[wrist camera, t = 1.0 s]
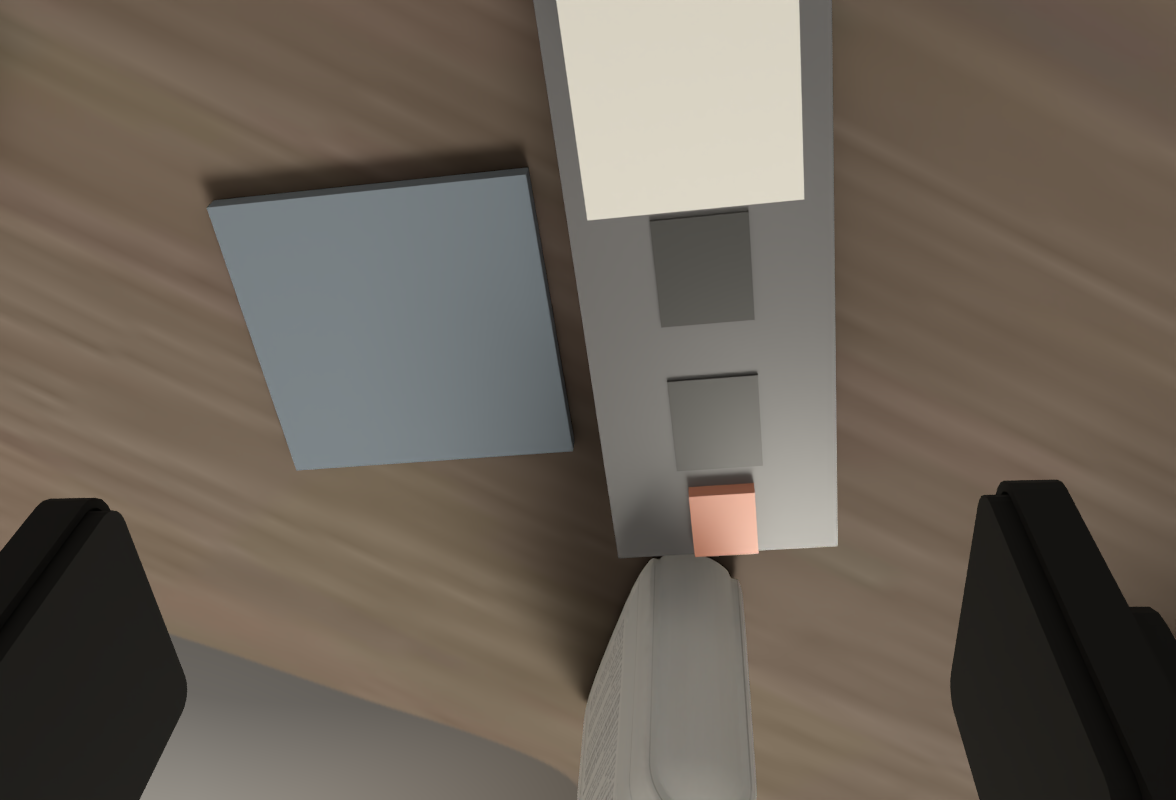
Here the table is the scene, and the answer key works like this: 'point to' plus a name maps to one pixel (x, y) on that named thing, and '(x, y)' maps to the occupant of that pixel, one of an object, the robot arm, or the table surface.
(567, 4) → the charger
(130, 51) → the table surface
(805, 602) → the table surface
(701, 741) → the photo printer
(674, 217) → the power strip
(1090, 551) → the robot arm
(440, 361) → the mat
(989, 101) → the table surface
